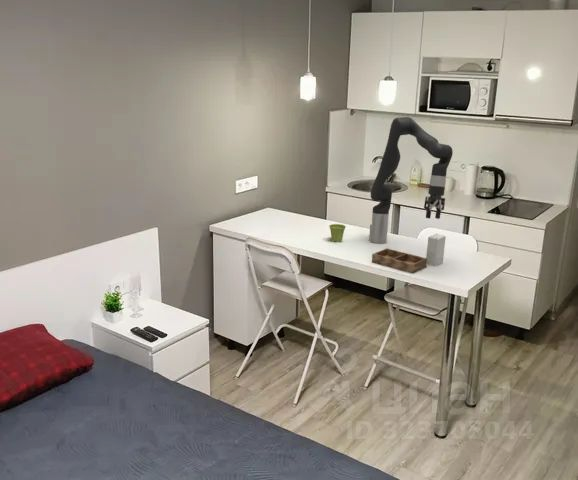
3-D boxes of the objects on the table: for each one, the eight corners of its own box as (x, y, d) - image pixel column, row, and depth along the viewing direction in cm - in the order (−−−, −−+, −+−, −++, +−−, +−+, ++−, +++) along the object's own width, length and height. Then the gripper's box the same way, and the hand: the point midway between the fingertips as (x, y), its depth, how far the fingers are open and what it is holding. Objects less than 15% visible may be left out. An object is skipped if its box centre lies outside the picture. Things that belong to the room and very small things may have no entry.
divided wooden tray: (371, 262, 316) (372, 254, 315) (386, 256, 326) (387, 248, 325) (412, 273, 301) (413, 264, 300) (426, 266, 311) (427, 258, 310)
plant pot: (325, 239, 354) (326, 224, 351) (339, 237, 358) (340, 223, 355) (333, 243, 346) (334, 229, 343) (348, 241, 350) (348, 227, 347)
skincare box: (433, 260, 322) (436, 233, 318) (443, 263, 318) (446, 235, 314) (424, 263, 316) (427, 236, 312) (435, 266, 312) (438, 238, 308)
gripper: (438, 185, 305) (434, 217, 307) (422, 183, 295) (418, 217, 297) (451, 187, 300) (447, 219, 302) (435, 185, 290) (431, 219, 292)
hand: (432, 218), depth 299 cm, fingers open, 8 cm apart
